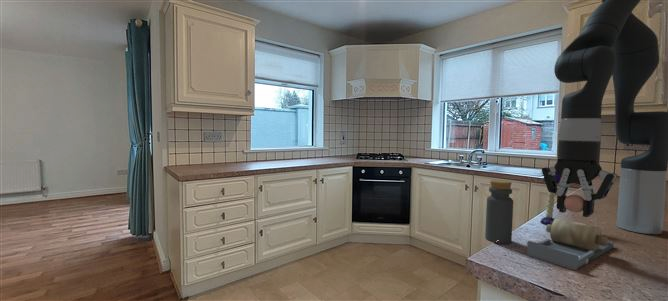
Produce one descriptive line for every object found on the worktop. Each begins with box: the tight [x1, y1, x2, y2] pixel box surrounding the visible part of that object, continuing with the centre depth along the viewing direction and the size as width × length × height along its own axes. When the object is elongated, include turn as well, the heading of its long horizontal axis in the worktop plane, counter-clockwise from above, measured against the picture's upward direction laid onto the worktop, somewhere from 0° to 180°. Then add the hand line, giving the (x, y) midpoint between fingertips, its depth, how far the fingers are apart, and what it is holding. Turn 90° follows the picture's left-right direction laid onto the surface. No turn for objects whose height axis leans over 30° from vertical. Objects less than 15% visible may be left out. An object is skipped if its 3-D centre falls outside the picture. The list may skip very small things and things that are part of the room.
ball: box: [564, 194, 585, 213], centre depth 70 cm, size 4×4×4 cm
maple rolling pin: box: [545, 217, 609, 252], centre depth 71 cm, size 11×6×6 cm, turn 34°
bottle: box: [484, 179, 514, 245], centre depth 77 cm, size 6×6×15 cm
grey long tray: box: [526, 238, 615, 271], centre depth 71 cm, size 23×9×3 cm, turn 124°
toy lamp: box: [540, 171, 561, 226], centre depth 91 cm, size 5×5×17 cm
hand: (574, 213), depth 70 cm, fingers closed on ball, 4 cm apart
